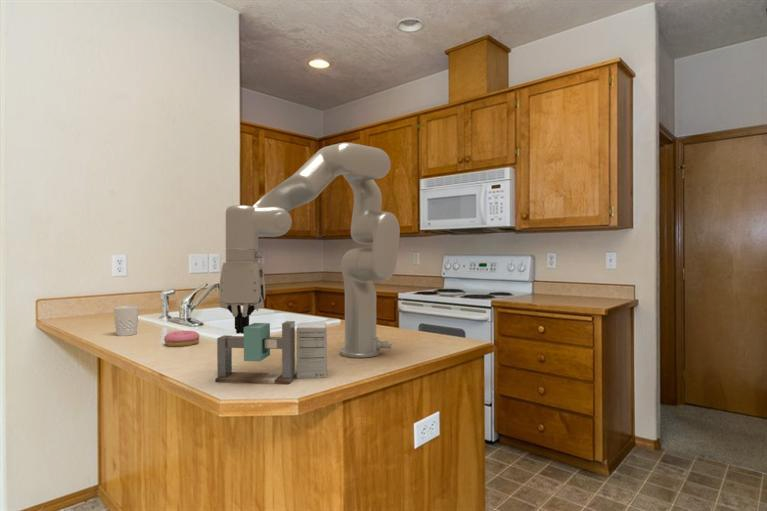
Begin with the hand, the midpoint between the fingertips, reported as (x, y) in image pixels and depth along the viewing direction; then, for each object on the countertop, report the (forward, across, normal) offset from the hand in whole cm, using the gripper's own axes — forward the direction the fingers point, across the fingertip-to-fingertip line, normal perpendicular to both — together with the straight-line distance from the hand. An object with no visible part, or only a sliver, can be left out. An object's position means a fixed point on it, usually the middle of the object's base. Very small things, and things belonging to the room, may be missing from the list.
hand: (241, 332), depth 114 cm
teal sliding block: (+3, -4, 0) cm, 5 cm away
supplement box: (+12, -16, -6) cm, 21 cm away
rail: (+11, -4, 0) cm, 12 cm away
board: (+11, -4, 0) cm, 12 cm away
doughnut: (+12, +37, -38) cm, 54 cm away
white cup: (+12, +66, -52) cm, 85 cm away
